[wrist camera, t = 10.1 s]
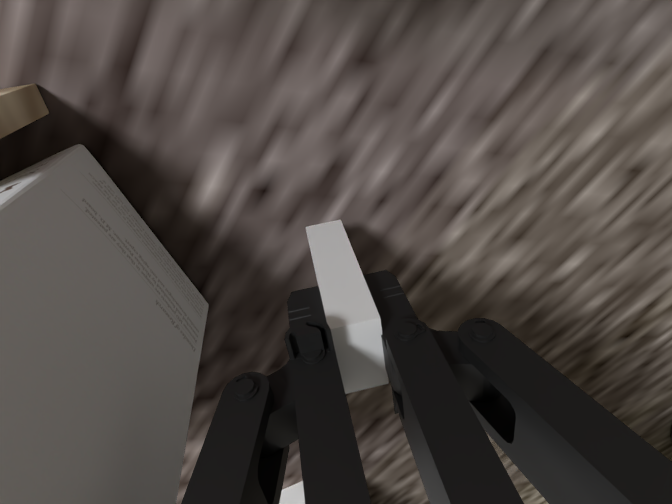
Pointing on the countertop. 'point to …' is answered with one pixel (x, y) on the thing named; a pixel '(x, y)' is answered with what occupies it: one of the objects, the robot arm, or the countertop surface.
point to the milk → (293, 494)
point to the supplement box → (90, 342)
